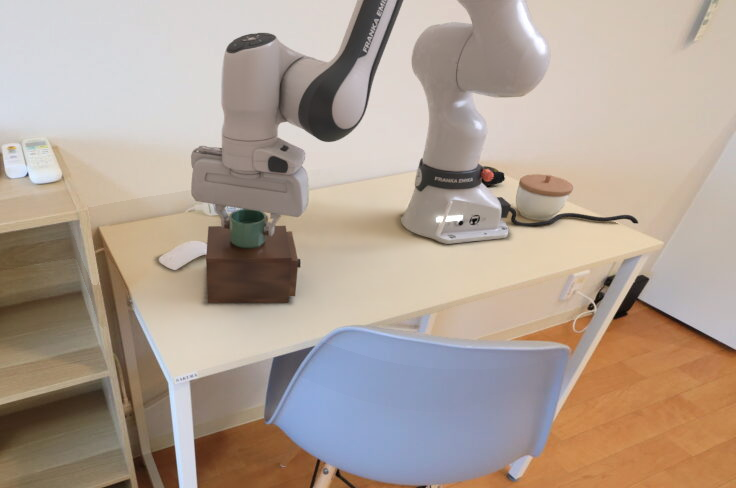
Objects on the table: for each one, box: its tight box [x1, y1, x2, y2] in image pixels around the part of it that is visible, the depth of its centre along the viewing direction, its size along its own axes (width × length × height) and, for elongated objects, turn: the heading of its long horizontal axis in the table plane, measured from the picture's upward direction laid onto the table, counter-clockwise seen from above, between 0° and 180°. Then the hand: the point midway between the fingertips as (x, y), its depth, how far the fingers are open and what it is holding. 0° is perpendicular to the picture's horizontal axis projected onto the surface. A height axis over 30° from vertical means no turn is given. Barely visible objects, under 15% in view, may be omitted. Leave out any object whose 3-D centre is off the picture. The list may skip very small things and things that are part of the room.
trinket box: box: [515, 173, 574, 221], centre depth 118 cm, size 11×11×9 cm
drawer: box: [287, 230, 302, 297], centre depth 96 cm, size 15×11×7 cm
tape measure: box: [482, 165, 506, 187], centre depth 135 cm, size 7×7×4 cm
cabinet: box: [205, 225, 292, 304], centre depth 96 cm, size 15×13×9 cm
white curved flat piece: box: [158, 240, 207, 271], centre depth 107 cm, size 7×12×2 cm, turn 128°
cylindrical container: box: [229, 208, 267, 248], centre depth 91 cm, size 6×6×5 cm
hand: (247, 230), depth 92 cm, fingers closed on cylindrical container, 6 cm apart
